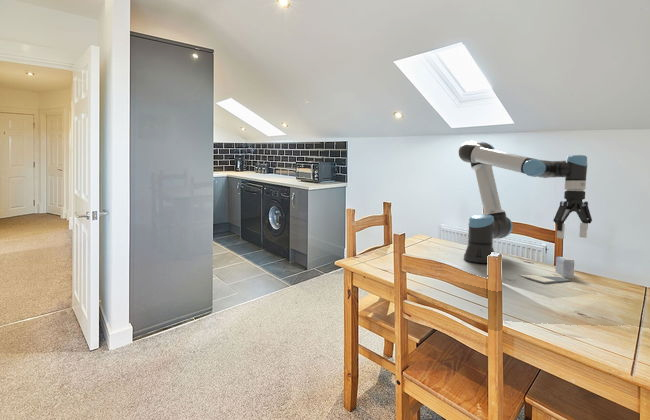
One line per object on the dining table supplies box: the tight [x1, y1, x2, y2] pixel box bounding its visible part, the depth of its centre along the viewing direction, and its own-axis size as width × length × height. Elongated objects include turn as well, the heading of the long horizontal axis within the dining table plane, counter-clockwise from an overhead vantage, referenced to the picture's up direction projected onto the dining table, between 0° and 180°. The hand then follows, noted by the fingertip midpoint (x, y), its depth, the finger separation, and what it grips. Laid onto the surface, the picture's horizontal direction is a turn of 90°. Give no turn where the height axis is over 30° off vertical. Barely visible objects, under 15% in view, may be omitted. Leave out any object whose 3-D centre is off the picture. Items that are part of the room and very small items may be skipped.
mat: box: [519, 274, 573, 285], centre depth 154 cm, size 14×16×1 cm
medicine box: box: [555, 256, 575, 279], centre depth 157 cm, size 8×4×9 cm, turn 168°
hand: (571, 237), depth 152 cm, fingers open, 13 cm apart
